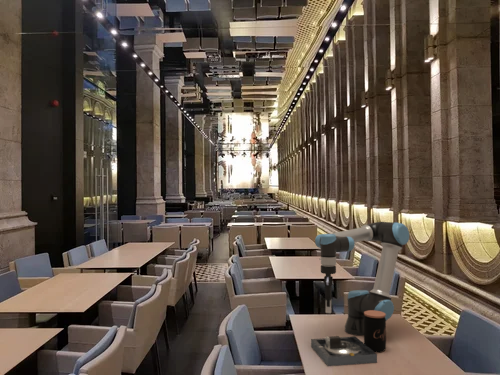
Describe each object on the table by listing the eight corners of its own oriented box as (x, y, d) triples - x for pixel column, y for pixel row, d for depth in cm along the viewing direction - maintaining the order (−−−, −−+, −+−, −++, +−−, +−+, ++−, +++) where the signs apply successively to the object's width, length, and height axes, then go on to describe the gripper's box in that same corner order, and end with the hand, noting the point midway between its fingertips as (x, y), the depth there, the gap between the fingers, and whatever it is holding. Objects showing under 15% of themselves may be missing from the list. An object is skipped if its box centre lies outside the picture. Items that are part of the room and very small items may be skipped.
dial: (351, 342, 210) (351, 329, 210) (366, 355, 193) (366, 341, 193) (320, 344, 207) (319, 331, 207) (332, 357, 190) (332, 343, 190)
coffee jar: (374, 354, 200) (374, 317, 200) (359, 347, 209) (359, 311, 209) (390, 350, 205) (390, 314, 205) (375, 343, 214) (374, 309, 214)
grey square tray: (355, 343, 214) (355, 335, 214) (377, 362, 190) (376, 352, 190) (311, 346, 210) (311, 337, 210) (327, 366, 186) (327, 356, 186)
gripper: (322, 262, 212) (322, 308, 211) (319, 267, 198) (319, 315, 198) (336, 263, 210) (337, 309, 209) (335, 267, 196) (335, 317, 196)
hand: (328, 312), depth 204 cm, fingers closed
